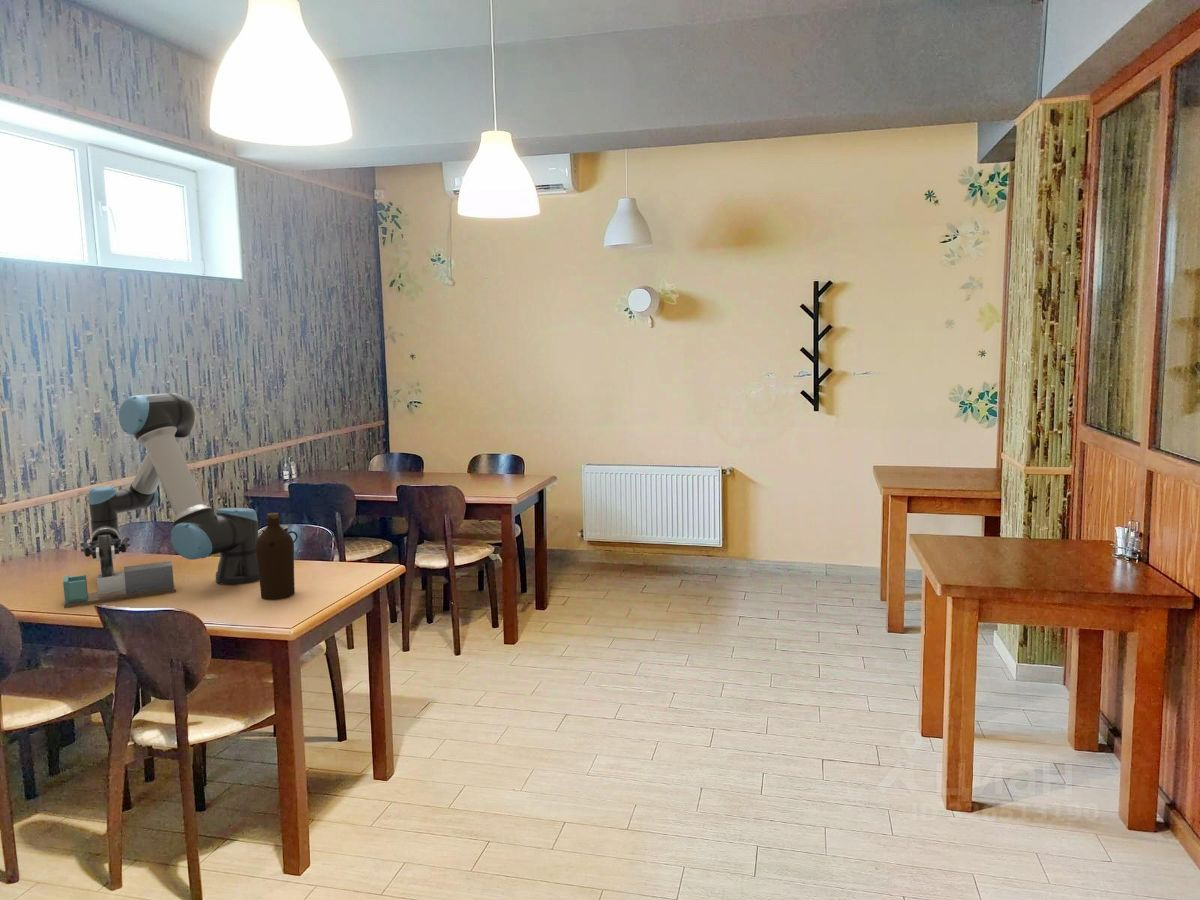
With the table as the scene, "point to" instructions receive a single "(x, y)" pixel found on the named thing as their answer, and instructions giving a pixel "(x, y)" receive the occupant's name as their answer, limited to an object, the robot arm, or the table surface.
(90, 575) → the table surface
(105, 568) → the metal plate with post
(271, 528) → the olive oil
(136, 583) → the base plate with blocks
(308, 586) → the table surface
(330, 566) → the table surface
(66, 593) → the teal bracket
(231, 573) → the robot arm
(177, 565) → the table surface
